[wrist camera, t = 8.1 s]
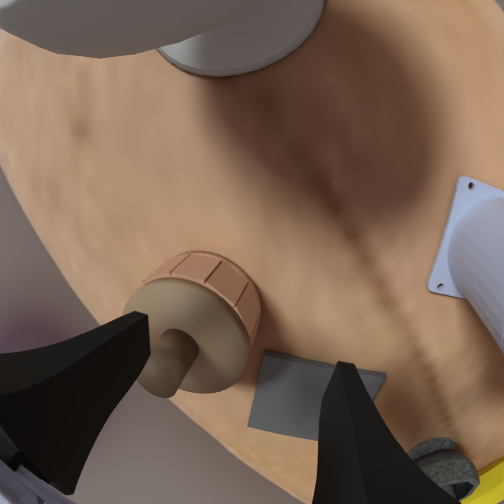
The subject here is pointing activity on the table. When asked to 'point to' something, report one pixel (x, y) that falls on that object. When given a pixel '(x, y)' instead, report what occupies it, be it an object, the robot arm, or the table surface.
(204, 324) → the lid
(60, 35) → the chalice
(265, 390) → the mat
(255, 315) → the bowl
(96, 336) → the robot arm
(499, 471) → the yellow rounded block
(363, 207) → the table surface
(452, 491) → the mortar and pestle
